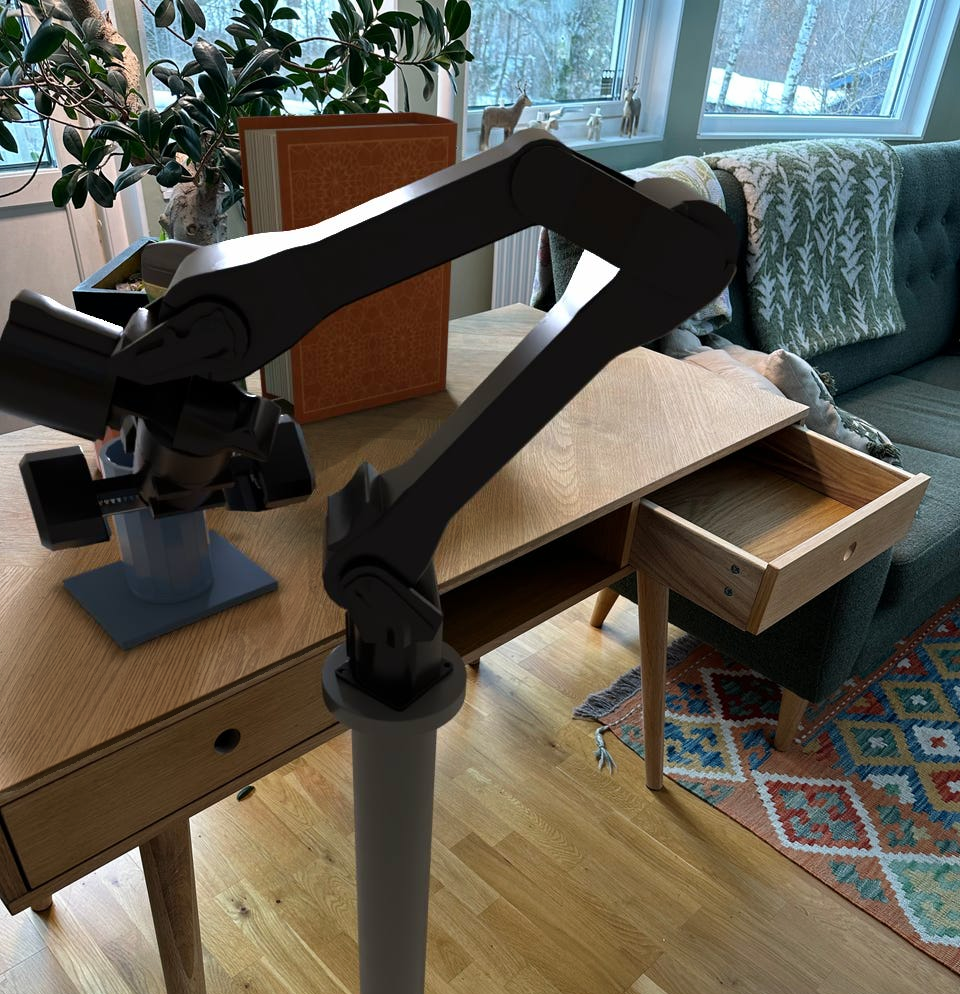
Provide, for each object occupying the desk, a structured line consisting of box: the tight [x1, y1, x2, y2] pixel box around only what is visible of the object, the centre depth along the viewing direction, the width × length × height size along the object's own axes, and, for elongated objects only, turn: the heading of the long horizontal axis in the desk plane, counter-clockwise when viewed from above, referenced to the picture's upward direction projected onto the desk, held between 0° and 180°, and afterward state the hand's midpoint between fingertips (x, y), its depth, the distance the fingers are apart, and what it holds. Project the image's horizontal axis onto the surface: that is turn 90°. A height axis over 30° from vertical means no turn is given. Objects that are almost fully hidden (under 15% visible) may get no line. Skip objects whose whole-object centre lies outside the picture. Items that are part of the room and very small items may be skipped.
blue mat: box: [61, 528, 279, 651], centre depth 75 cm, size 14×11×1 cm
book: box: [236, 111, 459, 426], centre depth 102 cm, size 23×8×30 cm, turn 129°
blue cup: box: [98, 437, 214, 604], centre depth 71 cm, size 7×7×12 cm
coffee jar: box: [140, 238, 249, 392], centre depth 98 cm, size 10×8×19 cm
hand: (167, 514), depth 68 cm, fingers open, 9 cm apart
